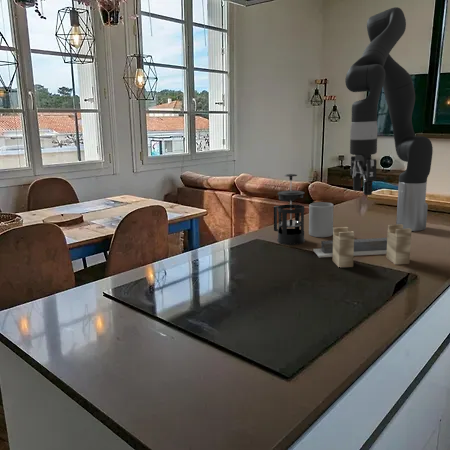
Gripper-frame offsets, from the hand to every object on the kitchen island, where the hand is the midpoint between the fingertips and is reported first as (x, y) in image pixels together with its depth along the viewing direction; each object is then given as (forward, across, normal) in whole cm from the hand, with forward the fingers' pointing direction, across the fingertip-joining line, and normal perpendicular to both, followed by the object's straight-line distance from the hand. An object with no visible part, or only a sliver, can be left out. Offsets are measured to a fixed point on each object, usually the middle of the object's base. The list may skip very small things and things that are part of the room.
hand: (362, 192), depth 127 cm
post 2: (+18, -11, -7) cm, 22 cm away
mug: (+19, +23, +6) cm, 30 cm away
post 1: (+18, -11, +9) cm, 23 cm away
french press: (+18, +16, +19) cm, 31 cm away
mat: (+18, -1, +1) cm, 18 cm away
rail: (+18, -1, +1) cm, 18 cm away
